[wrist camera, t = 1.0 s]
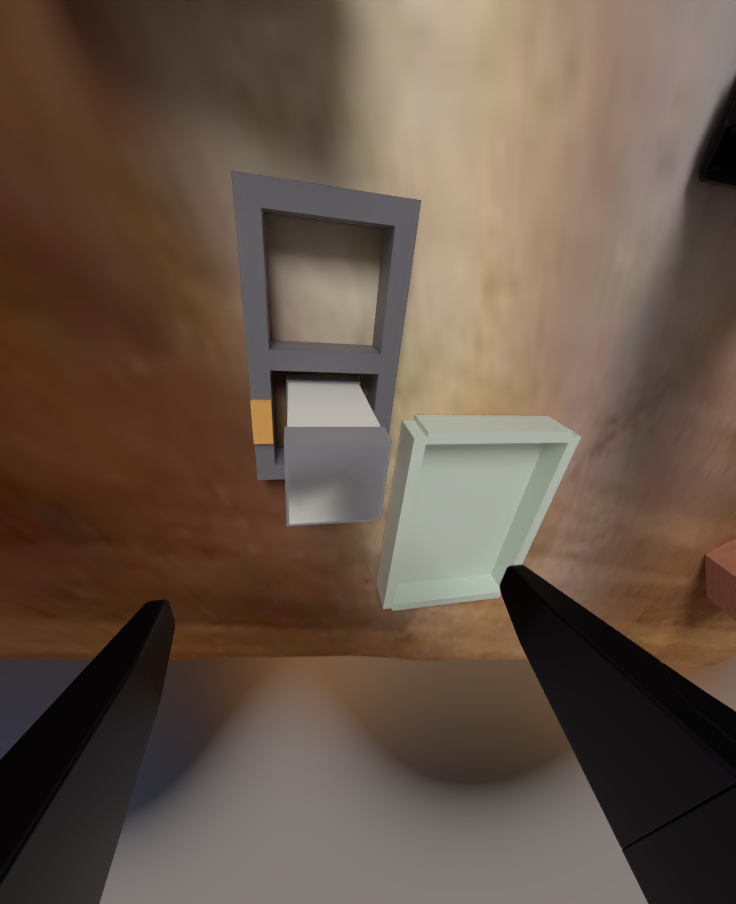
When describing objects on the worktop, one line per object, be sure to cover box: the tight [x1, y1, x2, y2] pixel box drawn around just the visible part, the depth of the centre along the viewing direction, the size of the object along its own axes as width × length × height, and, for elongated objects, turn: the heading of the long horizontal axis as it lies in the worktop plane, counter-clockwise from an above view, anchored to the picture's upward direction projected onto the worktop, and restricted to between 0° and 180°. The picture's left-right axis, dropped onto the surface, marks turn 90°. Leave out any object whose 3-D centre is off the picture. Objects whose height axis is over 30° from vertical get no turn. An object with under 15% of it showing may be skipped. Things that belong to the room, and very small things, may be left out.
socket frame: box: [232, 171, 421, 480], centre depth 17 cm, size 8×14×2 cm, turn 174°
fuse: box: [284, 373, 392, 526], centre depth 17 cm, size 4×4×8 cm
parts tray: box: [376, 415, 581, 611], centre depth 26 cm, size 12×17×2 cm
